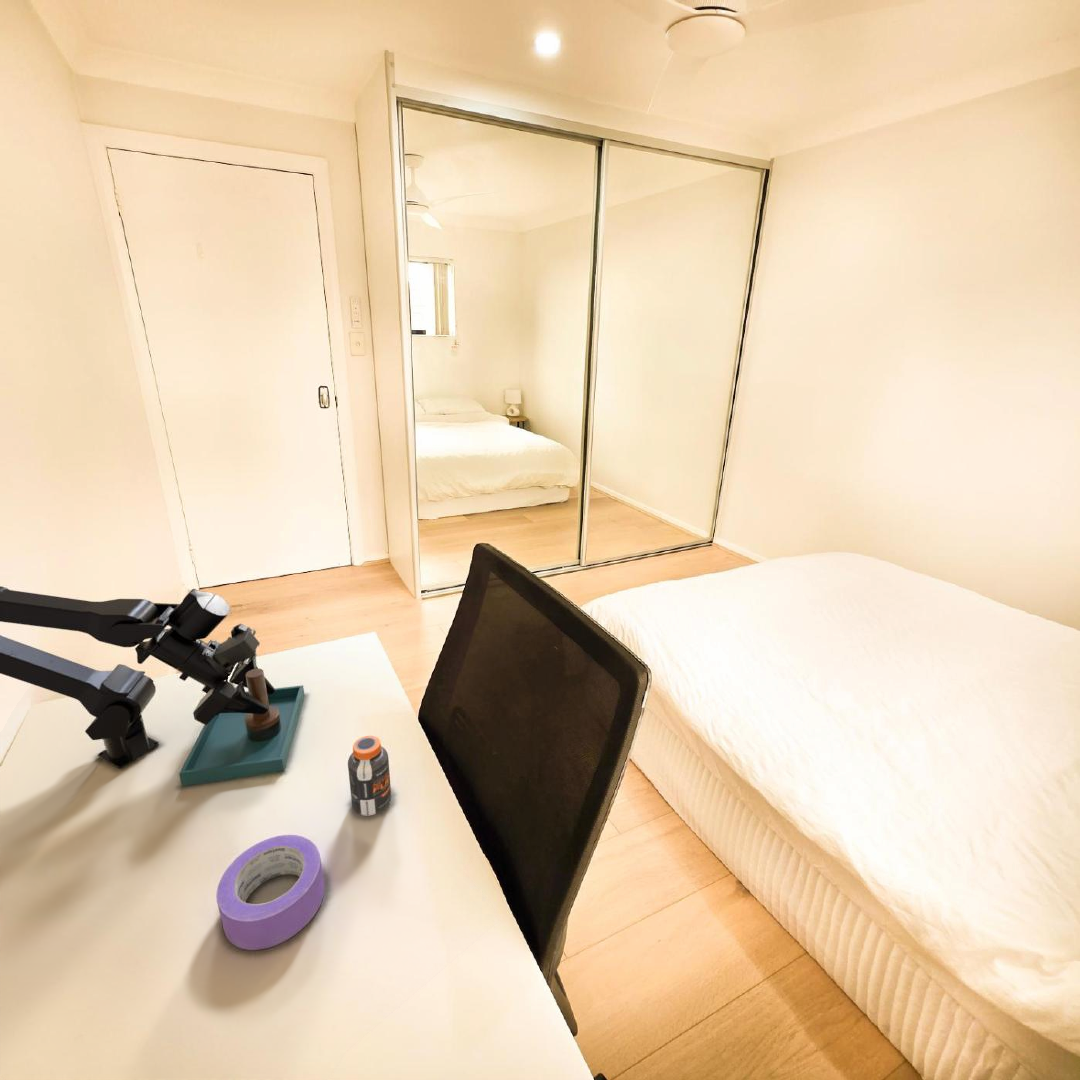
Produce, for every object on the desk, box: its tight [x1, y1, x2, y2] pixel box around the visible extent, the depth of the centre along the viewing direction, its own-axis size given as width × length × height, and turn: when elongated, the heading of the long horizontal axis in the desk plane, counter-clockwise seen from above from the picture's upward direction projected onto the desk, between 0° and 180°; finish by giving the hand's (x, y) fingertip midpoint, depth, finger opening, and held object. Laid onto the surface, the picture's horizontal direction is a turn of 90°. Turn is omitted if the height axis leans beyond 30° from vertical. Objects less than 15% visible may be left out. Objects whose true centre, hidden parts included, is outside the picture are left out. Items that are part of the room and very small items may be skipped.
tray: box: [178, 684, 306, 787], centre depth 96 cm, size 21×15×3 cm
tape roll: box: [216, 834, 326, 951], centre depth 67 cm, size 12×12×5 cm
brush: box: [245, 668, 281, 742], centre depth 95 cm, size 6×6×12 cm
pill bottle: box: [347, 735, 392, 817], centre depth 82 cm, size 6×6×11 cm
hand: (270, 701), depth 95 cm, fingers open, 5 cm apart
